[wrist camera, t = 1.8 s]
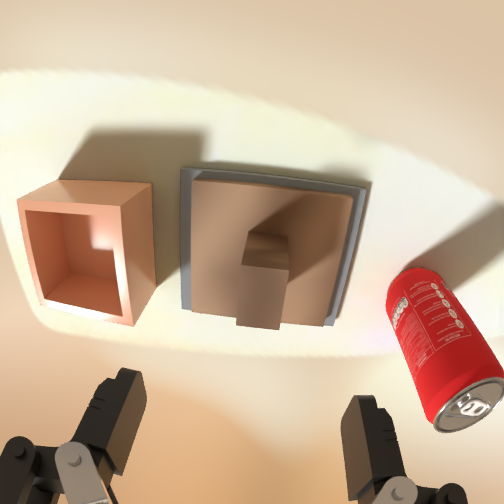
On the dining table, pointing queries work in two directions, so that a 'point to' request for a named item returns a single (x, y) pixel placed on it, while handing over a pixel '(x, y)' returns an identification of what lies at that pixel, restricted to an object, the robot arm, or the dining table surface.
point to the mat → (192, 173)
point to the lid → (265, 251)
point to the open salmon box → (91, 247)
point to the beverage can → (443, 351)
